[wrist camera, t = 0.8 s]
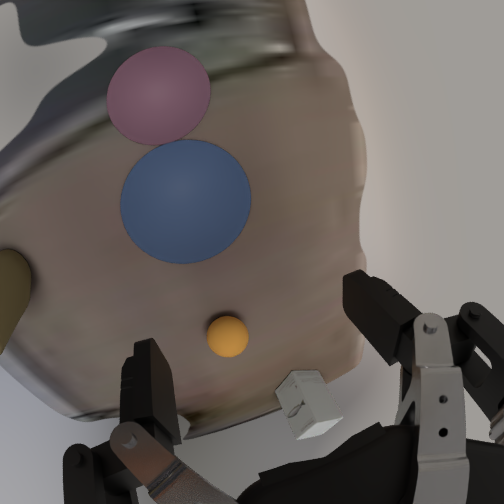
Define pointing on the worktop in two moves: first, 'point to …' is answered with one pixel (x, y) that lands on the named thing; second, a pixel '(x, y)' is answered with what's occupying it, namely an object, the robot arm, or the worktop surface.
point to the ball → (227, 336)
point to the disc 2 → (185, 201)
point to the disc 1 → (158, 95)
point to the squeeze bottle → (12, 292)
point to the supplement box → (308, 403)
